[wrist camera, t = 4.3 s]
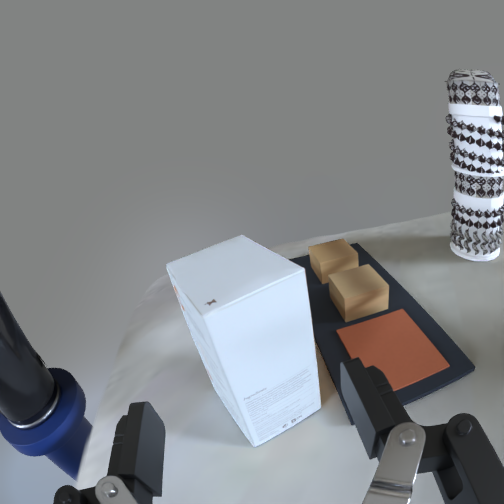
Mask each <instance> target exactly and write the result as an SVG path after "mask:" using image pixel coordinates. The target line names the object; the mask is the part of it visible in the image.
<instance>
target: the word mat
mask: <svg viewBox="0 0 504 504" xmlns="http://www.w3.org/2000/svg"><path fill="white" fill-rule="evenodd" d="M350 246H351V247H352V248H353V249H354V250H355V251H356V252H357V253H358V266H359V267H360V266H363V265H367V264H369V265H370V266H371V267H372V268H373V269H374V270H375V271H376V272H377V273H378V274H379V275H380V276H381V277H382V279H383V280H384V281H385V282H386V283H387V284H388V285H389V300H388V309H386V310H383V311H380V312H377V313H374V314H371V315H368V316H365V317H361V318H358V319H355V320H352V321H348V322H345V321H344V319H343V317H342V316H341V314H340V312H339V311H338V309H337V308H336V306H335V304H334V303H333V301H332V299H331V298H330V290H329V282H328V283H325V284H322V283H321V281H320V280H319V278H318V277H317V275H316V273H315V272H314V270H313V269H312V267H311V263H310V255H306V256H302V257H298V258H294V259H290V261H292V262H294V263H295V264H297V265H299V266H301V267H303V268H305V274H306V280H307V288H308V295H309V303H310V310H311V318H312V325H313V333H314V338H315V340H316V343H317V345H318V347H319V350H320V352H321V354H322V357H323V359H324V361H325V363H326V366H327V368H328V370H329V373H330V375H331V377H332V380H333V382H334V384H335V387H336V389H337V391H338V394H339V396H340V398H341V401H342V403H343V406H344V408H345V410H346V413H347V415H348V417H349V420H350V422H351V425H354V424H355V423H354V421H353V418H352V416H351V414H350V411H349V409H348V407H347V404H346V402H345V400H344V397H343V394H342V390H341V370H340V364H341V362H344V361H347V360H350V359H353V358H356V357H359V358H360V359H361V361H362V363H363V365H364V367H365V368H366V367H369V366H372V365H374V366H376V367H377V368H378V369H380V370H381V371H383V373H384V374H385V376H386V378H387V379H388V381H389V383H390V384H391V386H392V388H393V391H395V393H396V395H397V396H398V398H399V400H400V402H401V403H402V405H403V406H404V405H406V404H408V403H411V402H413V401H415V400H417V399H419V398H422V397H424V396H426V395H428V394H430V393H432V392H434V391H436V390H438V389H440V388H442V387H444V386H446V385H448V384H450V383H452V382H454V381H456V380H458V379H460V378H462V377H463V376H465V375H467V374H469V373H471V372H472V371H474V369H475V366H474V365H473V363H472V362H471V361H470V360H469V359H468V358H467V356H466V355H465V354H464V353H463V352H462V351H461V350H460V348H459V347H458V346H457V345H456V344H455V343H454V342H453V340H452V339H451V338H450V337H449V336H448V335H447V334H446V333H445V332H444V330H443V329H442V328H441V327H440V326H439V325H438V324H437V323H436V322H435V321H434V320H433V318H432V317H431V316H430V315H429V314H428V313H427V312H426V311H425V310H424V309H423V308H422V307H421V306H420V305H419V304H418V303H417V302H416V300H415V299H414V298H413V297H412V296H411V295H410V294H409V293H408V292H407V291H406V290H405V289H404V288H403V287H402V286H401V285H400V284H399V283H398V282H397V281H396V280H395V279H394V278H393V277H392V276H391V275H390V274H389V273H388V272H387V271H386V270H385V269H384V268H383V267H382V266H381V265H380V264H379V263H378V262H377V261H376V260H375V259H374V258H372V257H371V256H370V255H369V254H368V253H367V252H366V251H365V250H364V249H363V248H362V247H361V246H360V245H359V244H358V243H355V244H351V245H350Z"/></svg>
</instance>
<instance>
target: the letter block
mask: <svg viewBox="0 0 504 504" xmlns="http://www.w3.org/2000/svg"><path fill="white" fill-rule="evenodd" d="M308 248H309V255H310V263H311V267H312V269H313V270H314V272H315V273H316V275H317V277H318V278H319V280H320V281H321V283H322V284H325V283H328V282H329V279H328V275H330V274H334V273H337V272H341V271H345V270H349V269H352V268H356V267H359V266H358V253H357V252H356V251H355V250H354V249H353V248H352V247H351V246H350V245H349V244H348V243H347V242H346V241H345V240H344V239H339V240H335V241H330V242H326V243H322V244H318V245H314V246H310V247H308Z"/></svg>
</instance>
